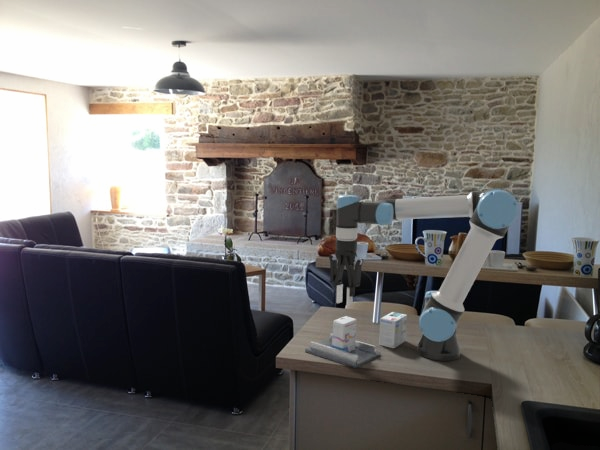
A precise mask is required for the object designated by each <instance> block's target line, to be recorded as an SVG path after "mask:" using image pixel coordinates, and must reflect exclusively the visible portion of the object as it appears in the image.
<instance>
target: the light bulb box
mask: <svg viewBox="0 0 600 450" xmlns="http://www.w3.org/2000/svg"><path fill="white" fill-rule="evenodd" d="M407 317H408V315H407V314H405V313H400V312H395V311H391V312H389V313H388V314H385V315H383V316H382V317H380V318H379V338H378V339H379V340H378V345H379V346H383V347H387V348H391V349H396V348H397V347H398V346H400V345H401V344H403V343H405V342H406V339H407V324H408V323H407V321H408V318H407Z"/></svg>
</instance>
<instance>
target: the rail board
mask: <svg viewBox="0 0 600 450" xmlns="http://www.w3.org/2000/svg"><path fill="white" fill-rule="evenodd" d="M332 335H333V332H332V333H329V338H327V339H325V340H322V341H321V342H319V343H318V342H315V341H310V342H309V347H307V348H305V349H304V351H305V353H308V354H312V355H314V356H317V357H320V358H324V359H326V360H330V361H332V362H336V363H338V364H342V365H345V366H348V367H350V368H351V367H352V368H354V369H357V368H358V367H360V366H362V365H365V364H366V363H368V362H370V361H372V360H375V359H376V358H378V357H379V356H381V352H380V351H377V346H376V345H374V344H370V343H366V342H363V341H359V340H356V339H355V349H354V350H352V351H350V352H345V351H342V350H339V349H335V348H332Z"/></svg>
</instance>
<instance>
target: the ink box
mask: <svg viewBox="0 0 600 450" xmlns="http://www.w3.org/2000/svg"><path fill="white" fill-rule="evenodd" d="M357 320H358V319H357V318H355V317H350V316H347V315H345V316H342V317H339V318H337V319H334V320H333V322H332V334H333V335H332V348H335V349H339V350H342V351H345V352H350V351H352V350H354V349H355V340H356V339H357V338H356V337H357V336H356V334H357Z"/></svg>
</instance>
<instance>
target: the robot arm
mask: <svg viewBox="0 0 600 450" xmlns="http://www.w3.org/2000/svg"><path fill="white" fill-rule="evenodd" d="M359 199H360V197H359V196H358V195H353V194H352V195H350V194H342V195H339V196H337V200H336V201H337V203H336V208H335V209H336V226H335V229H336V230H335V238H336V239H335V250H336V251H335V253H334V254H329V255H328V258H329V262H330V263H329V266H330V267H329V269H330V271H329V272H330V273H329V274H330V275H329V276H330V279H329V280H330V282H331V283H333V284H334V293H335V294H336V299H335V301H336V303H335V304H340V303H343V295H344V294H343V289H344V284H343V282H342V281H343V274H344V270H345V269H346V271H347V281H348V286H347V287H346V303H345V304H346V306H348V307H350V306H351V305H353V303H354V302H353V301H354V300H353V299H354V297H355V295H356V294H355V290H356V287H360V286H361V277H362V267H363V266H362V265H363V264H364V259H363V258H359V257H358V255H357V250H358V240H357V239H358V228H359V225H358V224H367V225H380V226H386V225H387V226H390V225H391V224H392V223H393V221H395V220H415V219H418V220H419V219H420V220H421V219H441V218H443V219H444V218H465V217H466V218H470V219H469V225H470V229H469V231H468V233H467V235H466V237H465V239H464V241H463V243H462V245H461V246H460V248H459V251H458V253H457V255H456V256H455V258H454V260H453V263H452V264H451V266H450V268H449V270H448V272H447V274H446V276H445V278H444V280H443V281H442V283H441V286H440V288H439V289H438V290H429V291H426V292H425V296H424V307H423V310H422V312H421V314H420V315H419V318H418V324H419V329H420V332H421V333H422V334H421V336H420V339H419V341H418V343H417V353H418V354H419V355H420V356H421V357H424V358H426V359H430V360H434V361H442V362H448V361H449V362H450V361H456V360H457V359H459V358H460V357H461V348H460V344H459V340H458V339H459V338H458V337H457V329H458V328H457V326H458V323H459V321H460V319H461V317H462V315H463V313H464V312H465V307H464V304H463V303H464V302H465V299H466V298H467V296H468V293H469V292H470V291H471V288H472V286H473V285H474V282H475V281H476V278H477V277H478V275H479V274H480V271H481V269H482V267H483V266H484V264H485V261H486V260H487V258H488V256H489V255H490V253H491V250H492V249H493V247H494V245H495V243H496V241H497V240H499V239H503V238H504V237H505V235H506V233H507V232H508V230H509V228H510V225H512V224H513V222H514V221H515V220H516V219H517V216H518V213H519V204H518V200H517V199H516V198H515V196H514V195H513V193H511V192H510V191H508V190H506V189H504V188H501V187H494V188H490V189H486V190H485V189H484V190H477V191H476V190H475V191H471V192H469V194H460V195H444V196H443V195H441V196H440V195H439V196H426V197H425V196H424V197H409V198H407V197H406V198H391V199H389V198H380V199H378V200H376V201H374V202H372V201H365V202H364V201H360V200H359Z"/></svg>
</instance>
